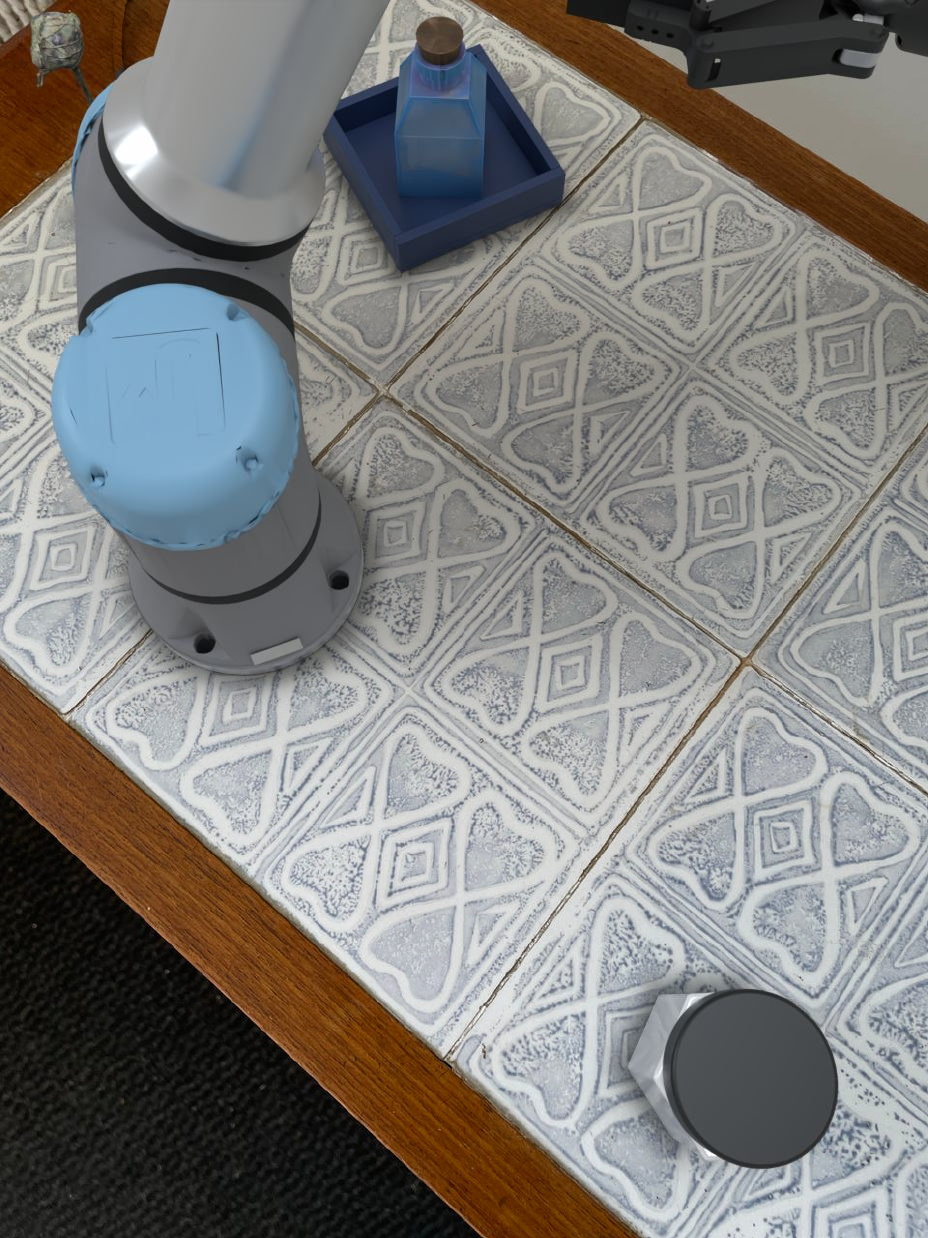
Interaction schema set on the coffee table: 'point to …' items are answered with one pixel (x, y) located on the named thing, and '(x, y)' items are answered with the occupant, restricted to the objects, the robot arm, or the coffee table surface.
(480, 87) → the perfume bottle
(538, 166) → the tray
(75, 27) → the plant with pod
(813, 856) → the coffee table surface
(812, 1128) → the jar
